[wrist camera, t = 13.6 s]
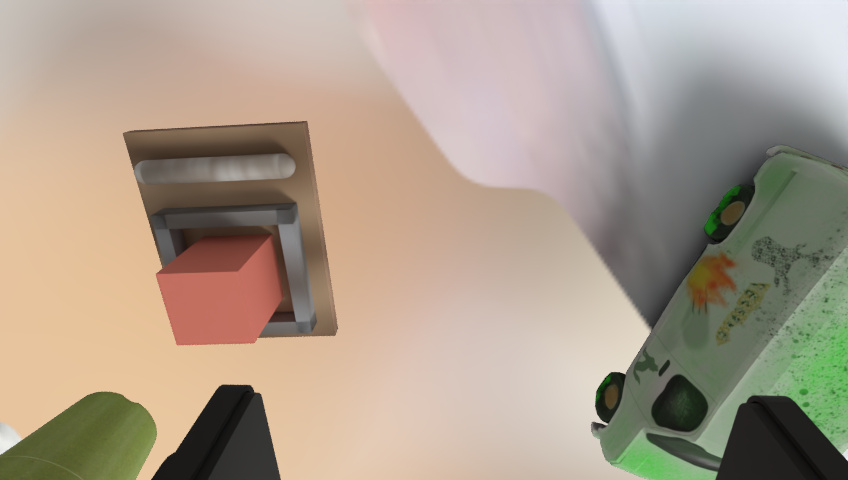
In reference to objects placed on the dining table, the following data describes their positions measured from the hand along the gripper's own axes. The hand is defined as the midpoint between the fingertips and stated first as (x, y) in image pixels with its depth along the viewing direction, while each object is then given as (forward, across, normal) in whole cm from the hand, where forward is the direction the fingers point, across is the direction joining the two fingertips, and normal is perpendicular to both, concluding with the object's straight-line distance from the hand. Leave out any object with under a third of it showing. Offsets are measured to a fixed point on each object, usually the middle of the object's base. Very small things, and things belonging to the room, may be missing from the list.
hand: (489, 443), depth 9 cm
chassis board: (+24, +16, +6) cm, 29 cm away
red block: (+22, +16, +8) cm, 29 cm away
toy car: (+25, -19, +13) cm, 34 cm away
